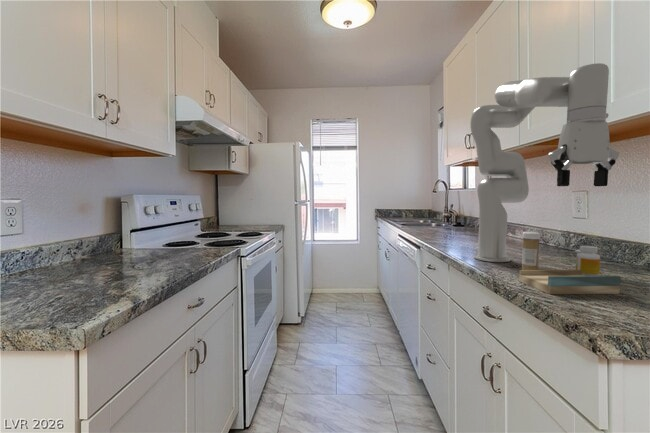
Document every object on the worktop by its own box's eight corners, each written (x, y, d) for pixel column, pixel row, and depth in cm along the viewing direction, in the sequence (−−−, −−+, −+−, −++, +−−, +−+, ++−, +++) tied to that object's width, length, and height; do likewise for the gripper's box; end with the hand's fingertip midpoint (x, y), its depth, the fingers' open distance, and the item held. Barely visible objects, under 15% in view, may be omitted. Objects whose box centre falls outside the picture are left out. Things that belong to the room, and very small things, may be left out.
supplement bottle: (604, 281, 88) (606, 248, 88) (585, 281, 88) (587, 248, 88) (588, 276, 94) (590, 245, 93) (570, 276, 94) (572, 245, 93)
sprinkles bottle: (540, 275, 95) (542, 232, 94) (534, 277, 93) (536, 233, 92) (524, 272, 99) (526, 231, 98) (518, 274, 96) (519, 232, 96)
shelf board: (518, 280, 89) (519, 266, 88) (579, 280, 89) (580, 265, 89) (549, 294, 77) (550, 277, 76) (619, 293, 77) (620, 276, 77)
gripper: (605, 121, 80) (601, 186, 81) (540, 121, 80) (537, 186, 81) (634, 114, 73) (629, 185, 74) (563, 113, 72) (559, 185, 74)
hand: (581, 186), depth 77 cm, fingers open, 9 cm apart
